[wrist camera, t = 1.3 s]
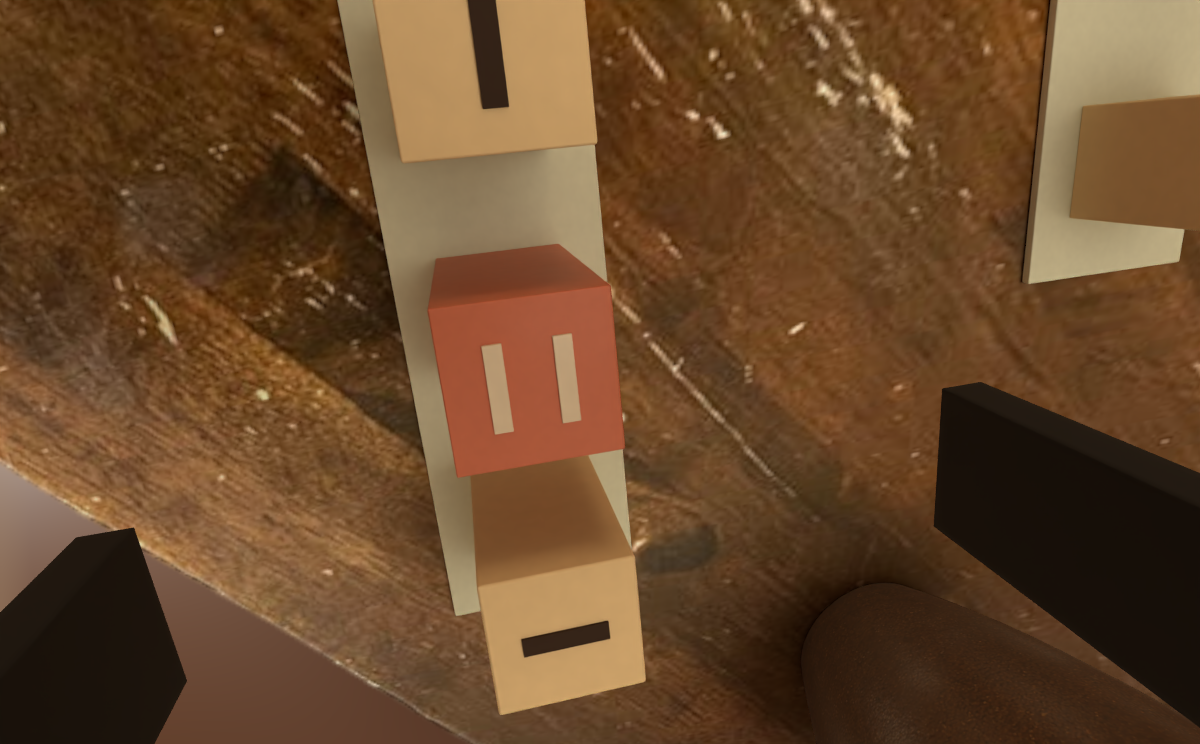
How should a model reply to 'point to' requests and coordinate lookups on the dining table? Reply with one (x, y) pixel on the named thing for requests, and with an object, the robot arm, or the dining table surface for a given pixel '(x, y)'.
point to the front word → (486, 224)
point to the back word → (1115, 138)
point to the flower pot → (961, 681)
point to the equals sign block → (525, 358)
